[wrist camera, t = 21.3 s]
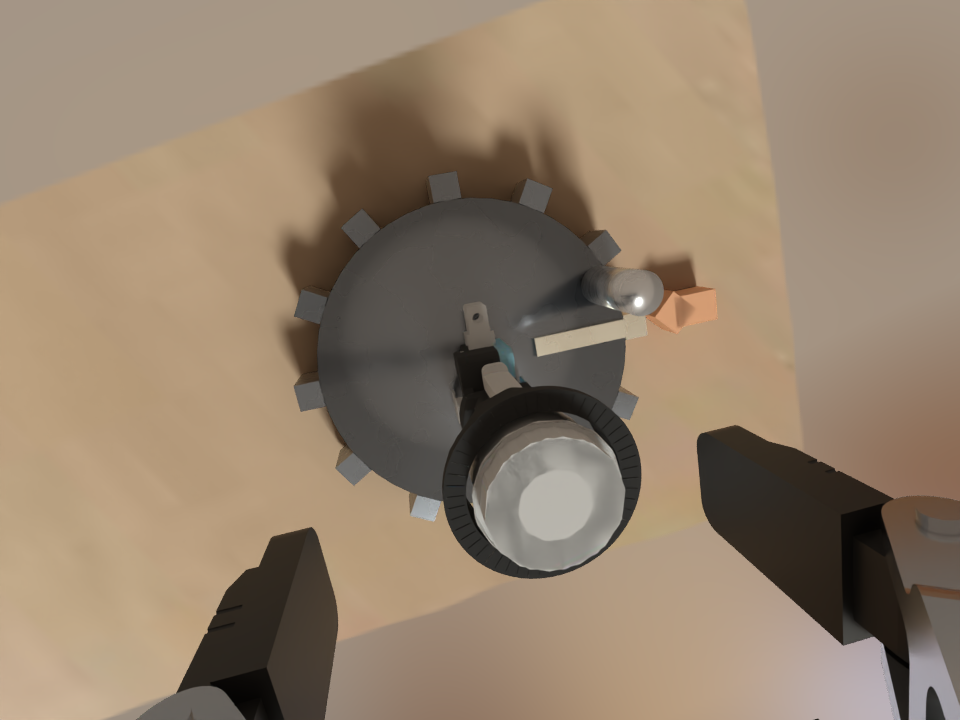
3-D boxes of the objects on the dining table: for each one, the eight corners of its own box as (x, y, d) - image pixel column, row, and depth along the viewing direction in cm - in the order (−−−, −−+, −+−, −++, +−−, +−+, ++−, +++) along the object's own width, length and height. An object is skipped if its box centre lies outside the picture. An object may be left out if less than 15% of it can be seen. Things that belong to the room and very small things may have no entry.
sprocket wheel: (346, 535, 25) (331, 623, 19) (257, 211, 21) (206, 200, 16) (644, 461, 27) (712, 522, 21) (606, 149, 23) (677, 118, 17)
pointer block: (642, 333, 26) (657, 338, 24) (637, 292, 25) (652, 295, 24) (699, 320, 26) (718, 325, 24) (696, 280, 25) (714, 282, 24)
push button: (407, 312, 21) (416, 370, 12) (535, 289, 22) (645, 325, 12) (437, 464, 23) (467, 624, 13) (555, 438, 23) (667, 574, 14)
